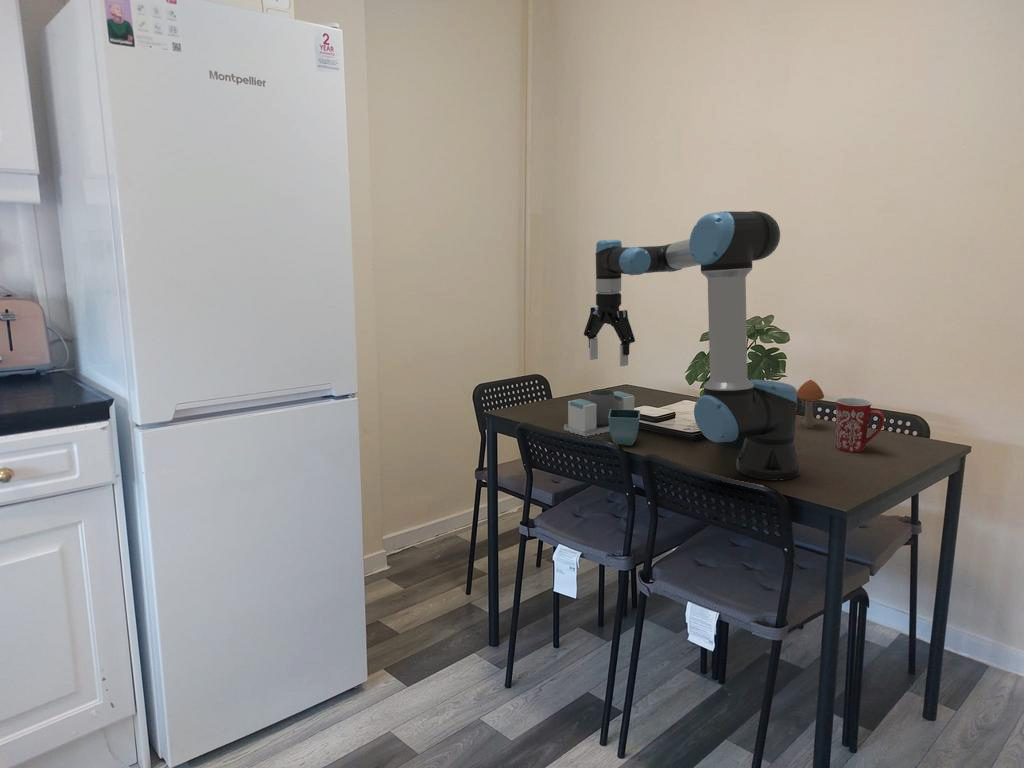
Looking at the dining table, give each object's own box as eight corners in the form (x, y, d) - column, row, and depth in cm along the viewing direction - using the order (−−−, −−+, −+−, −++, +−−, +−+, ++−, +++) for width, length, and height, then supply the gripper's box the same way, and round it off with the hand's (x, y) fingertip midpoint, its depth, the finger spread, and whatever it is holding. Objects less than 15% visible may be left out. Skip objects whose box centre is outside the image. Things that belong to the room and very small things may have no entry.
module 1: (596, 429, 215) (596, 403, 213) (584, 432, 212) (584, 406, 210) (579, 423, 221) (579, 398, 219) (568, 426, 219) (568, 400, 217)
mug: (825, 448, 197) (829, 401, 194) (840, 441, 202) (844, 395, 199) (872, 459, 187) (877, 409, 184) (886, 451, 193) (891, 403, 190)
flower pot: (639, 448, 200) (639, 418, 198) (607, 447, 202) (607, 417, 200) (639, 439, 209) (640, 409, 207) (609, 437, 211) (610, 408, 208)
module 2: (634, 420, 223) (634, 395, 221) (623, 423, 221) (623, 397, 219) (616, 415, 230) (617, 390, 228) (606, 417, 227) (606, 392, 225)
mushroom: (794, 430, 213) (797, 381, 210) (792, 422, 221) (795, 376, 217) (823, 432, 211) (827, 383, 208) (820, 424, 218) (823, 377, 215)
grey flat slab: (638, 424, 223) (638, 419, 223) (584, 437, 211) (584, 432, 211) (617, 417, 231) (617, 412, 231) (563, 429, 219) (563, 424, 219)
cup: (603, 429, 215) (603, 397, 212) (580, 423, 221) (579, 392, 219) (622, 423, 221) (623, 392, 219) (599, 417, 228) (600, 387, 225)
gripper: (647, 294, 203) (646, 366, 208) (590, 289, 223) (590, 355, 228) (628, 296, 199) (627, 370, 204) (572, 290, 219) (572, 358, 224)
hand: (608, 362), depth 216 cm, fingers open, 13 cm apart
